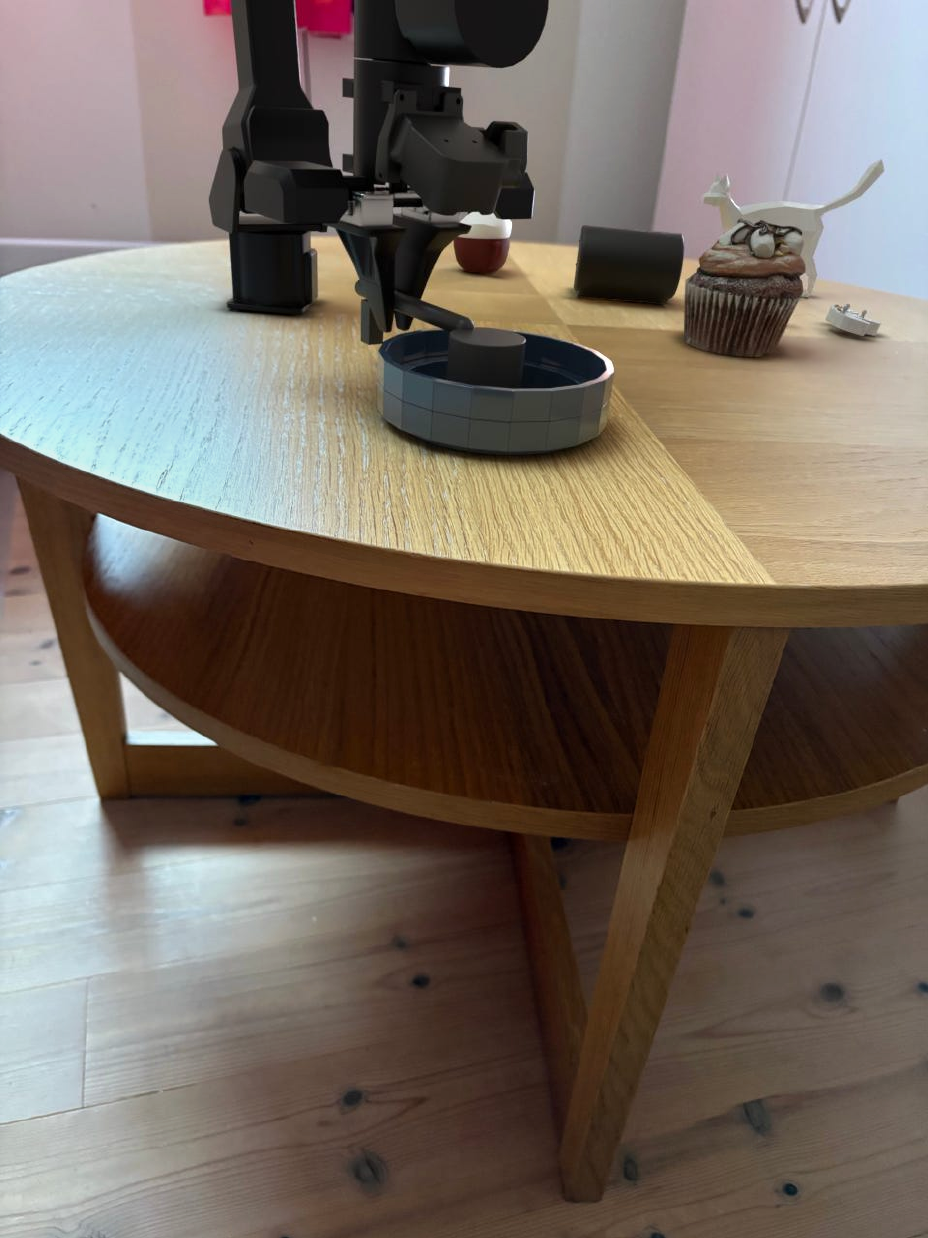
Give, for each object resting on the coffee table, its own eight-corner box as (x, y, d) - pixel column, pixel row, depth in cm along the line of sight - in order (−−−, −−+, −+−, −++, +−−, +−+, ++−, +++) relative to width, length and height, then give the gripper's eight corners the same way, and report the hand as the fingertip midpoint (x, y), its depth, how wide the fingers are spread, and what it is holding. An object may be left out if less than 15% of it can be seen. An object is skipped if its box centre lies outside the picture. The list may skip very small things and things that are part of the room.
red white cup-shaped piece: (509, 280, 96) (520, 155, 90) (451, 276, 95) (458, 150, 89) (504, 265, 104) (514, 149, 98) (451, 261, 104) (458, 145, 97)
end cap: (574, 302, 88) (583, 229, 84) (569, 288, 94) (578, 219, 90) (674, 311, 88) (688, 237, 84) (663, 296, 94) (676, 227, 90)
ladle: (330, 338, 64) (330, 278, 61) (384, 333, 66) (386, 275, 64) (475, 409, 52) (481, 338, 50) (534, 399, 55) (542, 331, 53)
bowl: (361, 449, 49) (361, 377, 47) (393, 379, 61) (394, 319, 59) (612, 471, 49) (624, 400, 47) (595, 396, 61) (604, 337, 59)
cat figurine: (678, 284, 101) (704, 144, 94) (838, 291, 104) (875, 157, 97) (692, 292, 97) (720, 147, 90) (858, 299, 101) (898, 160, 93)
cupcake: (710, 326, 83) (735, 209, 78) (806, 350, 77) (840, 226, 72) (651, 338, 77) (674, 213, 72) (751, 366, 71) (782, 231, 66)
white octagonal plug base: (888, 340, 83) (897, 312, 82) (775, 338, 81) (782, 308, 80) (856, 325, 88) (864, 298, 86) (748, 323, 86) (754, 294, 84)
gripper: (332, 53, 42) (333, 377, 50) (608, 80, 53) (572, 346, 61) (232, 47, 50) (247, 331, 58) (491, 72, 60) (474, 310, 68)
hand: (393, 330), depth 61 cm, fingers closed on ladle
